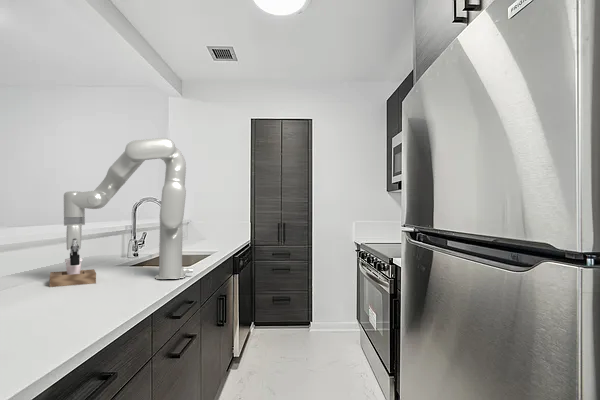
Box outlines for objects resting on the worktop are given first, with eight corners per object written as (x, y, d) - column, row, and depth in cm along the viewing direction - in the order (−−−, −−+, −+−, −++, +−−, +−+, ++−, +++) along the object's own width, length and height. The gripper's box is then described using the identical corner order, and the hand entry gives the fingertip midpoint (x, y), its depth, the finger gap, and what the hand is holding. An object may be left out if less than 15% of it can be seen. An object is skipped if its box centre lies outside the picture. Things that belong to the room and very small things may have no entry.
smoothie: (61, 282, 165) (62, 248, 165) (78, 280, 170) (78, 247, 170) (68, 284, 161) (69, 249, 161) (85, 282, 166) (85, 248, 166)
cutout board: (93, 278, 175) (94, 269, 175) (95, 283, 165) (96, 273, 165) (50, 281, 167) (50, 272, 167) (49, 287, 156) (49, 276, 157)
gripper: (63, 221, 172) (63, 261, 172) (63, 222, 157) (64, 267, 157) (83, 220, 175) (84, 260, 175) (85, 222, 161) (86, 265, 160)
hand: (74, 263), depth 166 cm, fingers open, 9 cm apart
